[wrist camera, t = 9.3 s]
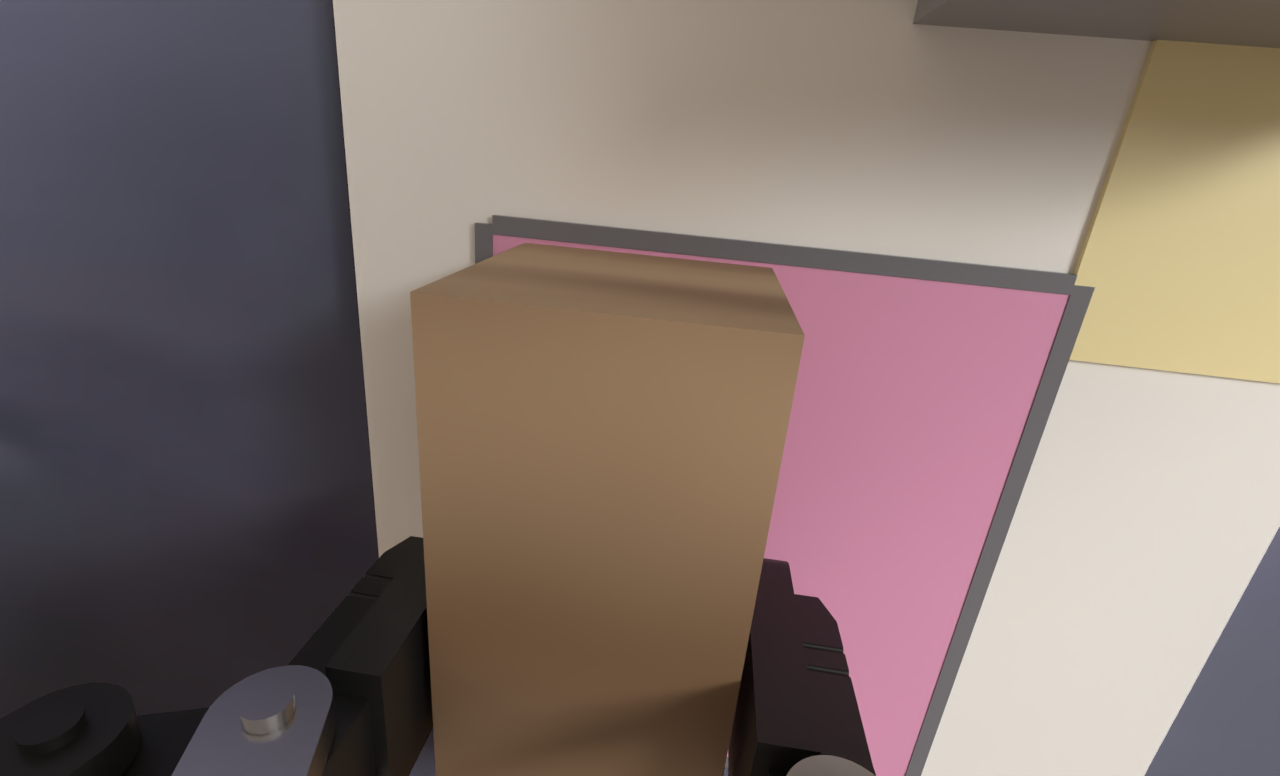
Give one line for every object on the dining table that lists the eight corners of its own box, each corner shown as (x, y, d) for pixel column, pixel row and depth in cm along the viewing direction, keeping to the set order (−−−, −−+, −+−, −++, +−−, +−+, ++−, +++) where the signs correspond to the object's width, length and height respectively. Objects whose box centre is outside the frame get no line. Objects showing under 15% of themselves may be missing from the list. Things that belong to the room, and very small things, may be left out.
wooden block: (522, 242, 10) (400, 293, 6) (775, 268, 10) (811, 338, 6) (516, 732, 14) (439, 948, 10) (695, 763, 14) (686, 999, 10)
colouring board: (297, -791, 7) (252, -892, 6) (1957, -858, 6) (2123, -995, 5) (403, 688, 15) (389, 713, 14) (1095, 806, 14) (1115, 840, 13)
